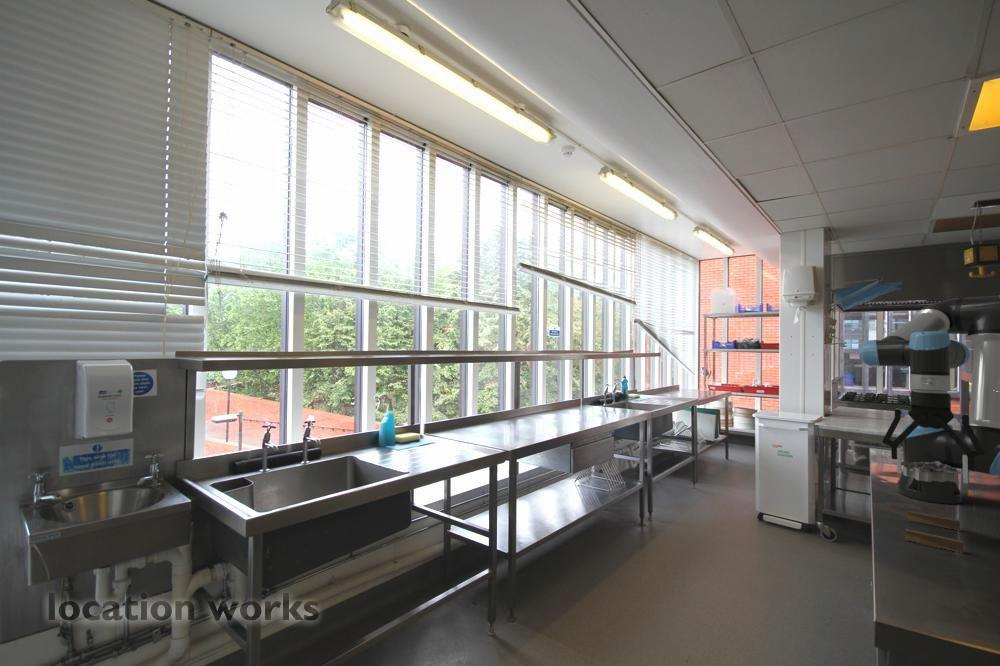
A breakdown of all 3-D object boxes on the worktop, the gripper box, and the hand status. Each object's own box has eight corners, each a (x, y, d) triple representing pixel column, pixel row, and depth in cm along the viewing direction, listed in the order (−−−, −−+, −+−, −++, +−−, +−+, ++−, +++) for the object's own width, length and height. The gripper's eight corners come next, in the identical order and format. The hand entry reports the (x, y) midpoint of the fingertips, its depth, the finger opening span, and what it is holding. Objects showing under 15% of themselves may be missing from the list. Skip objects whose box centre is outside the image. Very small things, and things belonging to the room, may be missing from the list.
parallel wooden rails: (908, 519, 125) (907, 510, 125) (959, 530, 118) (959, 520, 119) (905, 540, 112) (905, 530, 112) (963, 554, 105) (963, 543, 105)
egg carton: (921, 482, 113) (921, 465, 113) (896, 473, 120) (896, 458, 120) (966, 483, 112) (966, 466, 112) (938, 474, 120) (938, 458, 120)
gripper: (868, 388, 122) (869, 470, 121) (1000, 396, 105) (1002, 491, 105) (871, 387, 127) (872, 465, 127) (997, 394, 111) (998, 484, 110)
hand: (931, 477), depth 116 cm, fingers closed on egg carton, 11 cm apart
